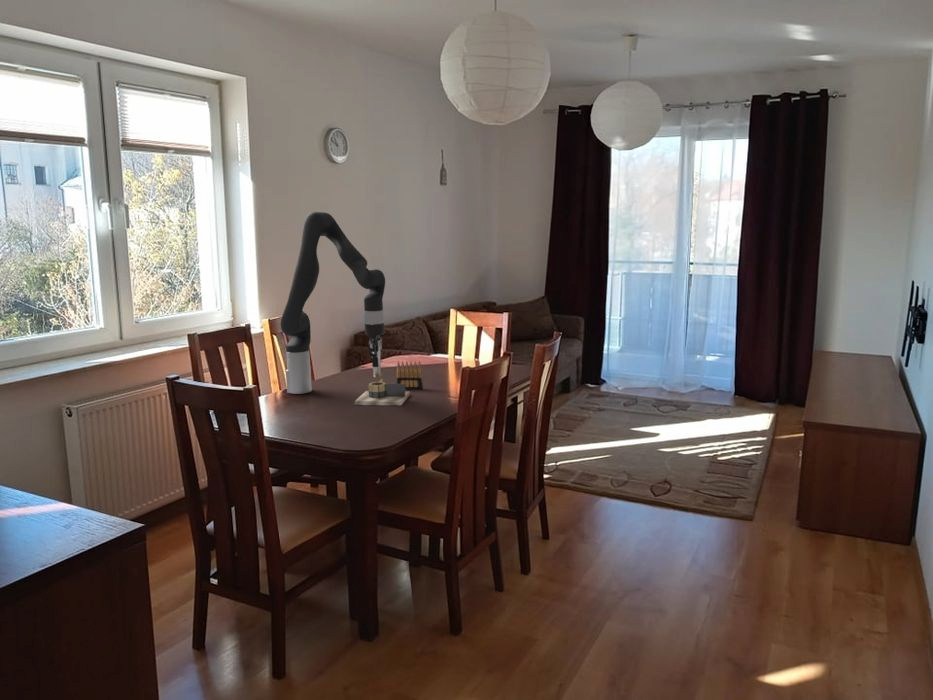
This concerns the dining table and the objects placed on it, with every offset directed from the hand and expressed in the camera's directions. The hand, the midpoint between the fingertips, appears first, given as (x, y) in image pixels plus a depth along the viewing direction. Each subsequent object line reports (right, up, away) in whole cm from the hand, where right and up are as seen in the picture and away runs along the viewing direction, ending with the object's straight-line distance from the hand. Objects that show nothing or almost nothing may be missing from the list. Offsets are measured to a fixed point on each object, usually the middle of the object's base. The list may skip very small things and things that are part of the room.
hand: (376, 365), depth 285 cm
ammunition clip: (+12, -10, +19) cm, 24 cm away
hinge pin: (0, -4, +1) cm, 4 cm away
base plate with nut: (+2, -13, +2) cm, 14 cm away
